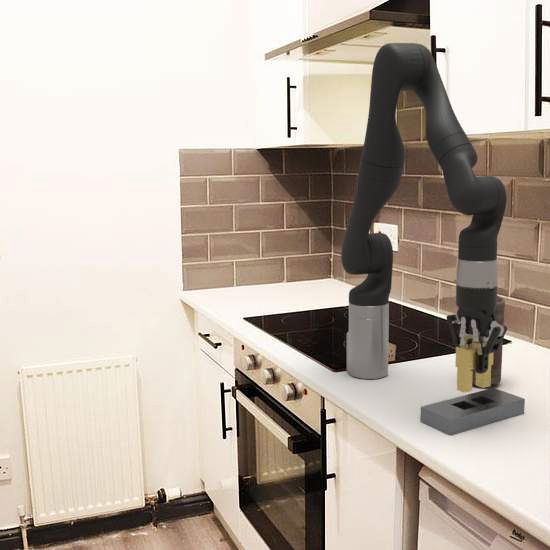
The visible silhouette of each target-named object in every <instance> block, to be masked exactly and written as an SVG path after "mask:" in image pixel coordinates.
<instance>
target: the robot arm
mask: <svg viewBox="0 0 550 550" xmlns="http://www.w3.org/2000/svg"><path fill="white" fill-rule="evenodd" d="M371 71H372V72H371V73H372V74H371V83H370V96H369V105H368V107H369V109H368V117H367V121H366V122H367V124H366V130H365V135H364V141H363V148H362V151H361V155H360V161H359V169H358V173H357V174H358V175H357V180H356V187H355V191H354V198H353V202H352V207H351V212H350V215H349V219H348V221H347V222H348V223H347V227H346V230H345V232H344V237H343V241H342V246H341V253H340V254H341V255H340V256H341V257H340V258H341V265H342V268H343V270H344V271H345V272H346V273H347V274H349V275H352V276H353V275H357V276H358V275H366V277H365V279H364V280H363V281H362V282H361V283H360V284H357V285H356V286H354V287H352V288H350V290H349V292H348V331H347V333H346V371H347V372H348V375H350V376H352V377H353V378H358V379H363V380H364V379H365V380H374V379H375V380H376V379H382V378H385V377H387V376H388V375H389V327H390V326H389V325H390V324H389V316H390V313H389V311H390V310H389V309H390V307H389V306H390V305H389V304H390V302H389V301H390V300H389V299H390V295H391V291H392V282H393V281H392V280H393V279H392V278H393V269H394V267H393V265H394V250H393V244H392V240H391V239H390V237H389V236H388V235H387V234H386V233H383V232H372V233H371V232H370V230H371V229H372V228H371V227H372V226H373V223H374V220H375V219H376V217H377V216H378V214H379V213H380V212H381V211H382V209H383V208H384V207H385V206H386V204H387V203H388V202H389V201H390V200H391V199H392V197H393V196H394V194H395V192H396V191H398V188H399V185H400V183H401V179H402V176H403V171H404V167H405V159H406V151H405V145H404V142H403V139H402V137H401V133H400V131H399V127H398V124H397V107H398V102H399V95H400V92H403V91H405V92H406V91H407V92H408V91H412V92H413V93H415V95H416V96H417V98H418V99H419V100H420V102H421V103H422V105H423V108H424V113H425V136H426V137H425V138H426V142H427V144H428V145H427V146H428V147H429V149H430V151H431V153H432V154H433V156H434V158H435V160H436V161H437V163H438V165H439V167H440V169H441V171H442V175H443V179H444V183H445V186H446V191H447V196H448V198H449V201H450V203H451V205H452V207H454V208H455V210H456V211H458V213H460V214H462V215H464V216H472V217H471V221H470V223H469V224H468V226H467V227H464V228H462V229H461V231H460V232H459V235H458V250H457V251H458V252H457V256H458V257H457V266H456V281H455V283H456V286H455V305H456V307H458V309H457V311H456V313H453V314H448V315H447V316H446V321H447V325H448V328H449V333H450V335H451V338H452V343H453V344H454V345H457V346H462V345H467V344H471V343H474V342H475V343H476V347H477V353H478V354H477V359H476V372H477V373H479V374H481V373H485V372H486V371H487V370H488V360H489V354H490V353H494V352H498V350H499V347H500V345H501V343H502V340H504V337H505V335H506V333H507V330H508V326H506V325H505V324H504V325H503V326H501V325H500V324H498V323H497V322H496V318H495V315H494V309H495V308H496V306H497V296H498V279H499V277H498V274H499V272H498V271H499V269H498V263H497V262H498V260H497V259H498V238H499V237H498V236H499V233H500V230H501V228H502V227H501V226H502V223H503V220H504V215H505V212H506V206H507V201H508V198H507V197H508V195H507V190H506V187H505V185H504V183H503V182H502V181H501V179H500V178H498V177H496V176H492V175H484V176H476V174H475V173H474V171H473V168H474V167H475V166H476V165H477V164H478V163H477V162H478V154H477V151H476V149H475V148H474V145H473V144H472V142H471V140H470V139H469V137H468V135H467V133H466V132H465V131H464V129H463V127H462V126H461V123H460V122H459V120H458V118H457V116H456V113H455V111H454V109H453V107H452V103H451V101H450V99H449V96H448V93H447V89H446V87H445V85H444V83H443V79H442V76H441V74H440V72H439V69H438V67H437V64H436V61H435V59H434V56H433V55H432V52H431V51H430V50H429V49H428V47H427V46H425V45H423V44H421V43H417V42H416V43H415V42H389V43H385V44H383V45H382V46H380V48H379V49H378V51H377V53H376V54H375V58H374V61H373V64H372V70H371ZM480 336H484V337H481V338H480ZM483 342H484V348H483Z"/></svg>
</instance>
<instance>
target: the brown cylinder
mask: <svg viewBox="0 0 550 550" xmlns="http://www.w3.org/2000/svg"><path fill="white" fill-rule="evenodd" d="M505 303H506V300H505V299H504V298H503V297H500V296H498V295H497V306H496V308H495V309H494V315H495V318H496V322H497V323H498V324H500V325H501V326H503V325H505V323H504V321H505ZM481 337H484V336H480V338H481ZM503 340H504V339H503ZM503 340H502V343H501V345H500V347H499V350H498V352H494V355H493V365H491V386H490V387H492V386H496V385H498V384H499V383H500V382H501V380H502V363H503V347H504V346H503V345H504V341H503ZM474 343H475V342H474ZM472 385H475V386H476V369H473V375H472Z"/></svg>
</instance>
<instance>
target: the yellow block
mask: <svg viewBox="0 0 550 550" xmlns="http://www.w3.org/2000/svg"><path fill="white" fill-rule="evenodd" d="M483 348H484V342H483ZM477 354H478V353H477V347H476V343H471V344H467V345H462V346H459V345H457V346H455V367H456V369H457V371H456V391H459V392H461V393H464V394H465V393H467V392H468V393H469V392H472V391H473V384H472V375H473V369H476V359H477ZM493 355H494V353H490V354H489V360H488V370H487V371H486V372H485V373H481V374H479V373H477V372H476V385H475V387H476V386H477V387H479V388H482V389H485V388H489V387H492V386H491V365H493Z"/></svg>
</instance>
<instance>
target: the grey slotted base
mask: <svg viewBox="0 0 550 550" xmlns="http://www.w3.org/2000/svg"><path fill="white" fill-rule="evenodd" d="M525 404H526V401H525V398H523V397H521V396H518V395H515V394H513V393H509V392H507V391H504V390H501V389H498V388H496V387H490V388H486V389H483V390H479V391H476V392H472V393H467V394H465V395H460V396H457V397H453V398H449V399H446V400H445V399H444V400H441V401H438V402H433V403H430V404H426V405H423V406H420V422H421V423H423V424H425V425H428V426H430V427H431V428H432V429H436V430H437V431H440V432H442V433H444V434H447V435H448V436H454V435H456V434H459V433H462V432H463V433H464V432H466V431H469V430H473V429H476V428H479V427H482V426H486V425H490V424H493V423H496V422H499V421H503V420H506V419H510V418H512V417H513V418H514V417H516V416H519V415H523V414H525Z"/></svg>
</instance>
